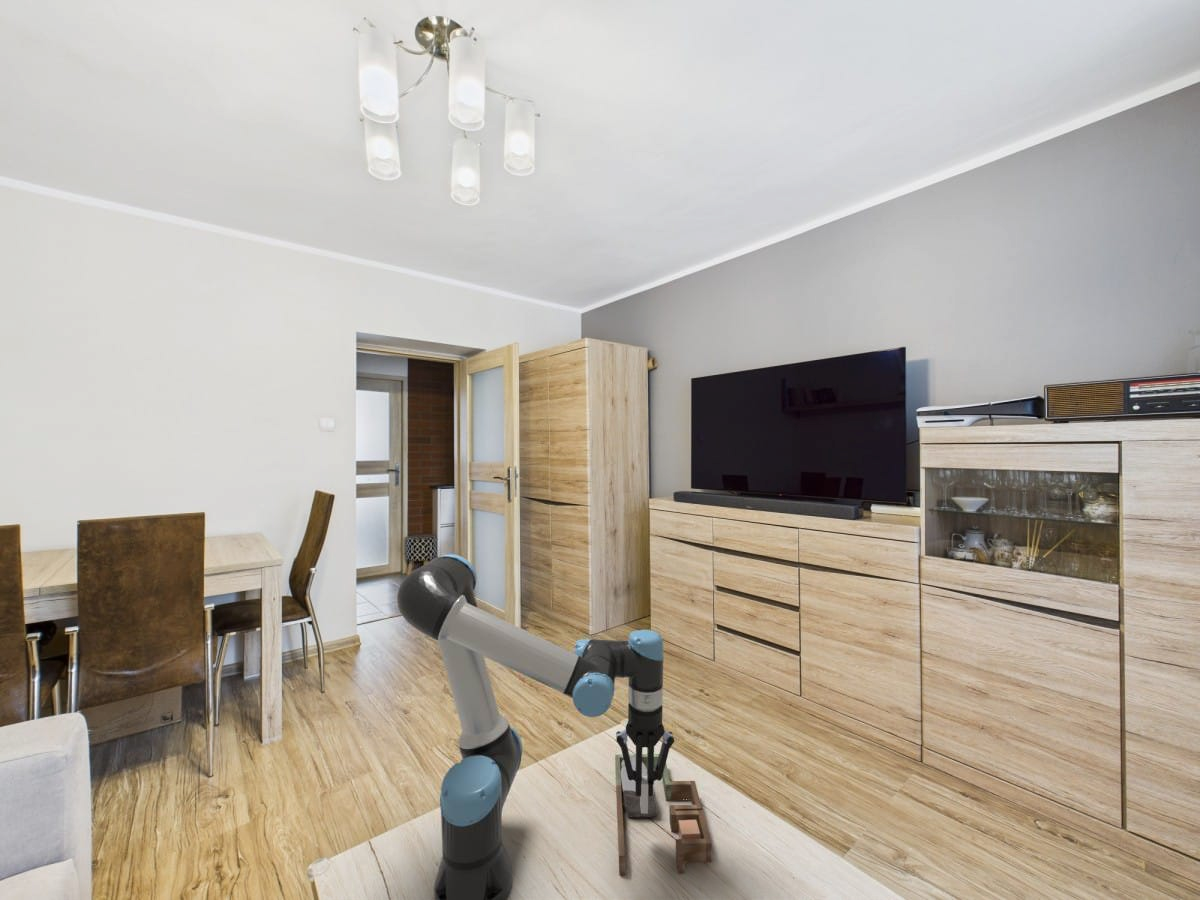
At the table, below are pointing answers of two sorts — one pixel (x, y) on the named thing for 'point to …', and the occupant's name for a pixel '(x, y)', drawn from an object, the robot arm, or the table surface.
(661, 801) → the table surface
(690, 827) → the cube
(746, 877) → the table surface
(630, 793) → the decorative stone
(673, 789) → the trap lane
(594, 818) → the table surface
